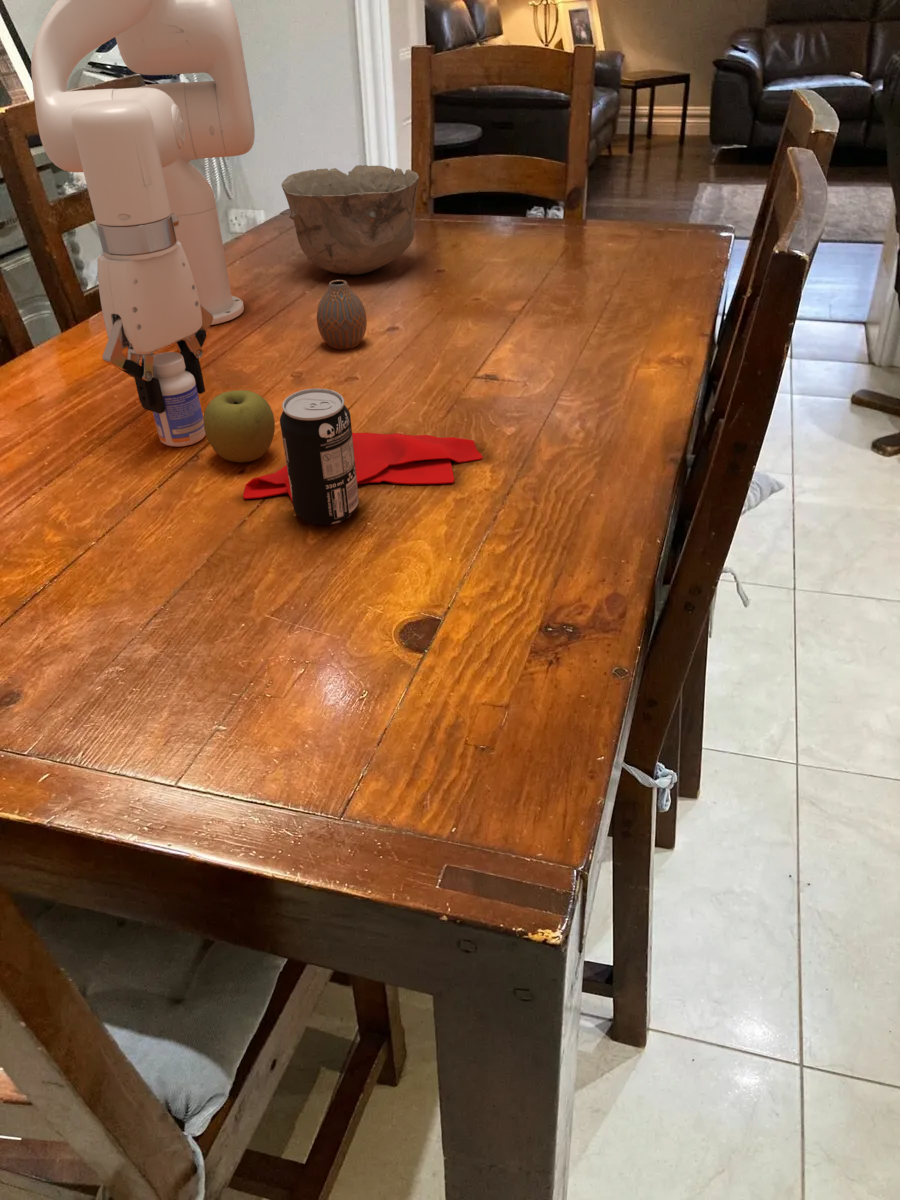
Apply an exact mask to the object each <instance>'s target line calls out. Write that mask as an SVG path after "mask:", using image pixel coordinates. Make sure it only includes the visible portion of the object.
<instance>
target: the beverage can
mask: <svg viewBox="0 0 900 1200" xmlns="http://www.w3.org/2000/svg"><path fill="white" fill-rule="evenodd" d="M281 408H282V412H281V415H280V417H279V425H280V431H281V432H280V433H281V437H282V444H283V450H284V456H285V463H286V464H285V465H287V470H288V476H289V483H290V489H291V495H292V500H291V503H292V502H293V503H292V508H293V510H294V512H295V514H296V515H297V516H298V517H300V518H301V519H302V520H304V521H305V522H307V523H309V524H312V525H317V526H329V525H330V526H331V525H335V524H338V523H341V522H343V521H345V520H347V519H349V518H350V517H351V516H352V515H353V513H354V512H355V511H356V509H357V508H358V507H359V503H360V497H359V488H358V486H359V485H358V484H357V477H356V467H355V457H354V447H353V438H352V433H353V430H352V429H353V428H352V420H351V413H350V410H349V409H348V407H347V406H346V405H345V399H344V397H343V396H342V394H341V393H339V392H338V391H336V390H332V389H328V388H306V389H302V390H298V391H296V392H293V393H292V394H289V395H288V396H287V397H286V398H285V399H284V400H283V402H282V405H281Z"/></svg>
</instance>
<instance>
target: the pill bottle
mask: <svg viewBox="0 0 900 1200" xmlns="http://www.w3.org/2000/svg"><path fill="white" fill-rule="evenodd" d="M185 368H186V367H185V362H184V358H183V356H182V355H181V354H180V353H179V352H176V351H165V352H160V353H156V354H154V362H153V377H154V378H157V379H158V380H159V383H160V387H161V391H162V396H163V400H164V404H165V412H163V413H161V414H160V413H156V412H153V411H152V415H153V418H154V422H155V427H156V431H157V435H158V438H159V440H160V442H161V443H162V444H163V445H166V446H167V447H168V446H169V447H176V448H177V447H178V448H179V447H186V446H190V445H194V444H196V443H199V442H200V441H202V440H203V439H204V438H205V437H206V433H205V429H204V414H203V410H202V406H201V402H200V401H201V400H200V396H199V393H198V392H197V387H196V382H195V378H194V376H193V375H192V374H191V373H190V372H188V371H185Z"/></svg>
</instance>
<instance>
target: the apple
mask: <svg viewBox="0 0 900 1200" xmlns="http://www.w3.org/2000/svg"><path fill="white" fill-rule="evenodd" d="M203 413H204V414H203V419H204V429H205V433H206V435H205V437H206V439H207V442H208V443H209V444H210V447H211V448H212V450H214V451H215V453H216V454H217V455H219V456H220V457H221V458H222V459H224V460H226V461H228V462H234V463H249V462H253V461H256V460H258V459H260V458H261V457H262V456H264V455H265V453H266V452H267V451H268V450H269V449H270V447H271V445H272V443H273V440H274V436H275V431H276V422H275V421H276V420H275V416H274V412H273V409H272V407H271V405H270V404H269V403H268V401H267V400H266V399H265V398H264V397H263V396H262V395H260V394H258V393H256V392H255V391H252V390H244V389H243V390H240V389H239V390H229V391H225V392H222V393H220V394H218V395H216V396H215V397H213V398H212V400H210V401H209V402H208V404H207V406H206V408H205V410H204V412H203Z"/></svg>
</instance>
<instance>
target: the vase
mask: <svg viewBox="0 0 900 1200" xmlns="http://www.w3.org/2000/svg"><path fill="white" fill-rule="evenodd" d="M367 322H368V321H367V312H366V309H365V306H364V303H363V301H362V300H361V299H360V298H359V296H358V295H357V294H356V293H355V292H354V291H353V290H352V288H351V287H350V285H349V283H348V282H347V280H344V279H335V280H331V281H329V283H328V286H327V288H326V291H325V292H324V294H323V296H322V297H321V299H320V301H319V303H318V305H317V310H316V324H317V329H318V332H319V334H320V337H321V338H322V340H323V341H324V342H325V344H327V346H329V347H330V348H331V349H336V350H350V349H353V348H355V347H357V346H359V345H360V343H361V342H362V341H363V339H364V338H365V335H366V331H367V327H368V325H367V324H368V323H367Z"/></svg>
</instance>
